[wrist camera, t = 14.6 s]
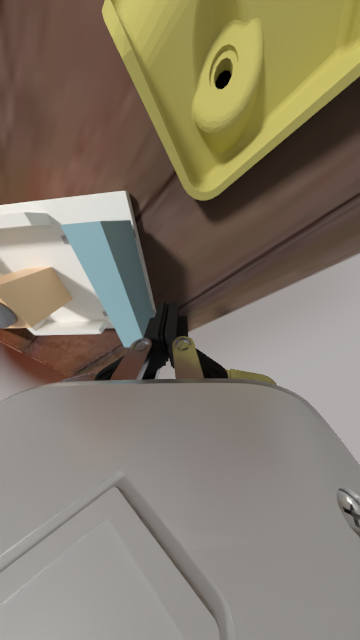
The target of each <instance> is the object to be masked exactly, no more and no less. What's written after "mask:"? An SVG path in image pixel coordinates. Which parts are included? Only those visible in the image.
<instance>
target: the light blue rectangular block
mask: <svg viewBox="0 0 360 640" xmlns="http://www.w3.org/2000/svg"><path fill="white" fill-rule="evenodd" d="M60 226H61V228H62V230H63V232H64V233H65V235H66V237H67V239H68V241H69V243H70V245H71V247H72V249H73V250H74V252H75V254H76V256H77V258H78V260H79V262H80V264H81V266H82V267H83V269H84V271H85V273H86V275H87V277H88V279H89V281H90V283H91V284H92V286H93V288H94V290H95V292H96V294H97V296H98V298H99V300H100V302H101V303H102V305H103V307H104V309H105V311H106V313H107V315H108V317H109V319H110V320H111V322H112V324H113V326H114V328H115V330H116V332H117V334H118V336H119V337H120V339H121V341H122V343H123V345H124V347H130V346H131V344H132V343H133V342H134V341H135V340H137V339H140V338H143V337H144V334H145V331H146V328H147V326H148V323H149V320H150V318H154V313H153V309H152V305H151V301H150V297H149V293H148V289H147V285H146V281H145V277H144V273H143V269H142V265H141V261H140V257H139V253H138V249H137V245H136V241H135V237H134V233H133V229H132V225H131V221H130V220H121V221H94V222H84V223H74V224H64V225H60Z"/></svg>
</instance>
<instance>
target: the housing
mask: <svg viewBox="0 0 360 640" xmlns="http://www.w3.org/2000/svg"><path fill="white" fill-rule="evenodd" d="M121 220H130V221H131V225H132V229H133V233H134V237H135V241H136V245H137V249H138V253H139V257H140V261H141V265H142V269H143V273H144V277H145V281H146V285H147V289H148V293H149V297H150V301H151V305H152V309H153V313H154V317H155V314H156V309H155V304H154V300H153V296H152V291H151V287H150V282H149V278H148V274H147V269H146V265H145V261H144V256H143V252H142V248H141V243H140V239H139V235H138V230H137V226H136V222H135V217H134V213H133V209H132V204H131V200H130V196H129V192H127V191H118V192H109V193H101V194H92V195H84V196H75V197H66V198H58V199H49V200H41V201H32V202H23V203H15V204H6V205H0V276H3V275H6V274H10V273H13V272H16V271H19V270H23V269H27V268H41V267H52V268H53V270H54V271H55V273H56V274H57V276H58V277H59V279H60V280H61V282H62V283H63V285H64V286H65V288H66V289H67V291H68V292H69V294H70V295H71V297H72V298H73V299H72V300H71V301H69V302H68V303H66V304H65V305H63V306H62V307H61V308H59V309H58V310H56V311H55V312H53V313H52V314H51V315H49V316H48V317H46V318H45V319H43V320H42V321H41V322H39V323H38V324H36V325H35V326H33V327H32V328H27V329H28V330H29V331H30V332H32V333H33V334H34V335H69V334H101V333H102V332H103V331H104V329H105V328H114V326H113V324H112V322H111V320H110V319H109V317H108V315H107V313H106V311H105V309H104V307H103V305H102V303H101V302H100V300H99V298H98V296H97V294H96V292H95V290H94V288H93V286H92V284H91V283H90V281H89V279H88V277H87V275H86V273H85V271H84V269H83V267H82V266H81V264H80V262H79V260H78V258H77V256H76V254H75V252H74V250H73V249H72V247H71V245H70V243H69V241H68V239H67V237H66V235H65V233H64V232H63V230H62V228H61V226H60V225H64V224H74V223H84V222H94V221H121Z"/></svg>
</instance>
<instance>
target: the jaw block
mask: <svg viewBox="0 0 360 640" xmlns="http://www.w3.org/2000/svg"><path fill="white" fill-rule="evenodd" d="M72 299H73V298H72V297H71V295H70V294H69V292H68V291H67V289H66V288H65V286H64V285H63V283H62V282H61V280H60V279H59V277H58V276H57V274H56V273H55V271H54V270H53V268H52V267H41V268H27V269H23V270H19V271H16V272H13V273H10V274H6V275H3V276H0V328H32V327H33V326H35V325H36V324H38V323H39V322H41V321H42V320H43V319H45V318H46V317H48V316H49V315H51V314H52V313H53V312H55V311H56V310H58V309H59V308H61V307H62V306H63V305H65V304H66V303H68V302H69V301H71V300H72Z"/></svg>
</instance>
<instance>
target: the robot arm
mask: <svg viewBox="0 0 360 640" xmlns="http://www.w3.org/2000/svg"><path fill="white" fill-rule="evenodd" d="M168 359H170V362H171V366H172V367H173V368H174V369H175V376H176V379H158V375H159V372H160V368H161V367H162V366H165V365H166V361H168ZM0 640H360V465H359V464H358V462H357V461H356V460H355V458H354V457H353V455H352V454H351V453H350V452H349V450H348V449H347V447H346V446H345V445H344V443H343V442H342V441H341V440H340V438H339V437H338V436H337V434H336V433H335V432H334V431H333V429H332V428H331V427H330V426H329V424H328V423H327V422H326V421H325V420H324V419H323V417H322V416H321V415H320V414H319V413H318V412H317V411H316V409H315V408H314V407H312V405H310V404H309V403H308V402H307V401H306V400H305V399H303V398H302V397H301V396H299V395H297V394H296V393H294V392H292V391H290V390H288V389H285V388H283V387H280V386H277V385H276V383H275V382H274V381H273V380H272V379H271V378H269V377H268V376H265V375H261V374H256V373H251V372H245V371H239V370H235V369H230V370H226V369H224V368H223V367H222V366H221V365H219V364H218V363H217V362H215V361H213V360H212V359H211V358H209V357H207V356H206V355H205V354H203V353H202V352H201V351H199V350H198V349H196V348H195V345H194V342H193V340H192V339H191V338H189V337H188V324H187V316H179V306H178V302H172V303H171V304H169V308H168V304H166V303H159V304H158V307H157V310H156V314H155V317H154V318H150V320H149V323H148V326H147V328H146V331H145V334H144V337H143V338H140V339H137V340H135V341H134V342H133V343H132V344H131V346H130V347H129V349H128V351H127V352H126V354H125V355H124V356H123V357H121V358H120V359H118V360H116V361H115V362H113V363H112V364H110V365H109V366H107V367H106V368H104V369H102V370H101V371H100V372H99V373H97V372H94V373H90V374H86V375H81V376H77V377H73V378H69V379H65V380H63V381H61V382H59V383H52V384H47V385H41V386H37V387H33V388H30V389H27V390H24V391H21V392H19V393H16V394H14V395H12V396H10V397H8V398H6V399H4V400H2V401H1V402H0Z"/></svg>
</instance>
